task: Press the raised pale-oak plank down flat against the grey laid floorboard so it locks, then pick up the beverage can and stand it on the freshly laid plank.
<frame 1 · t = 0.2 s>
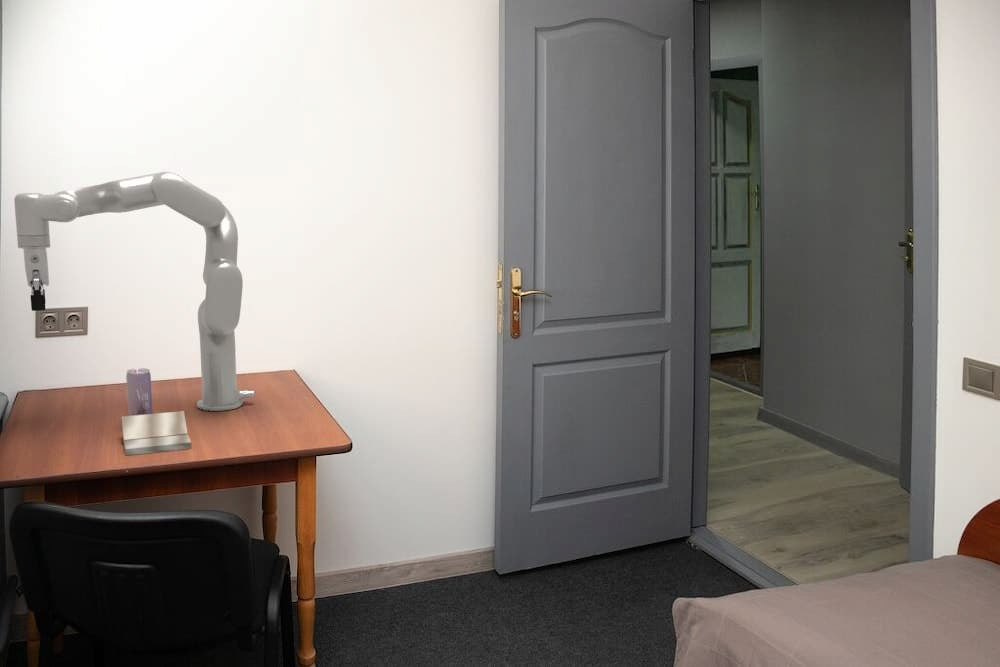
hand: (38, 307, 244), 31 cm above the table, tool pointing down, fingers open, 9 cm apart
beverage can: (141, 426, 248), on the table
floorboard: (157, 447, 230), on the table
plank: (154, 427, 237), point 3 cm above the table, hinge at 30.0°
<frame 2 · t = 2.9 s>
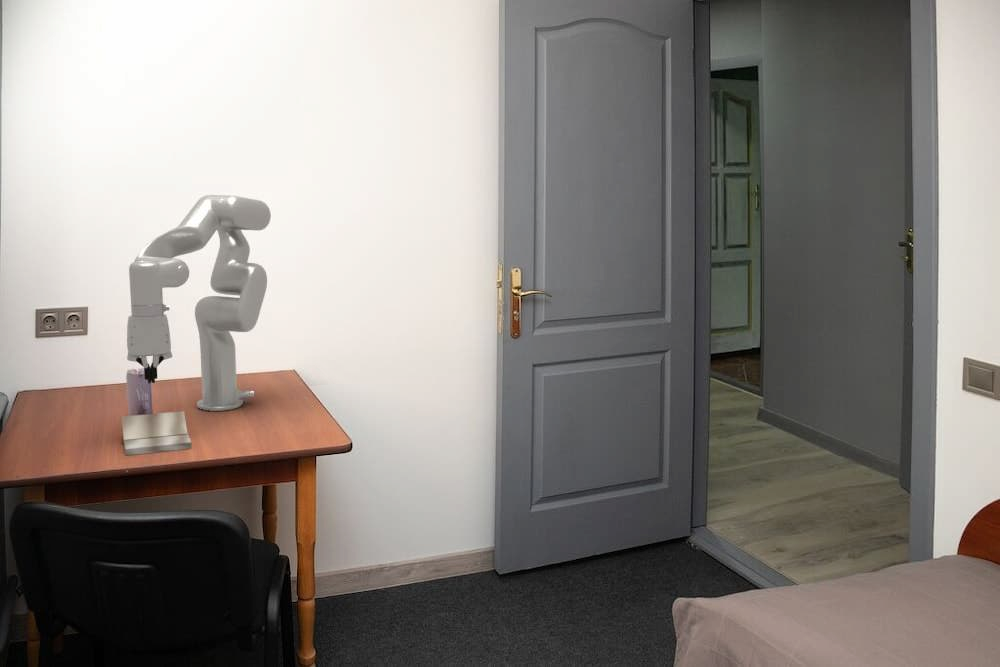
hand: (151, 381, 238), 14 cm above the table, tool pointing down, fingers closed
nothing on the table moved.
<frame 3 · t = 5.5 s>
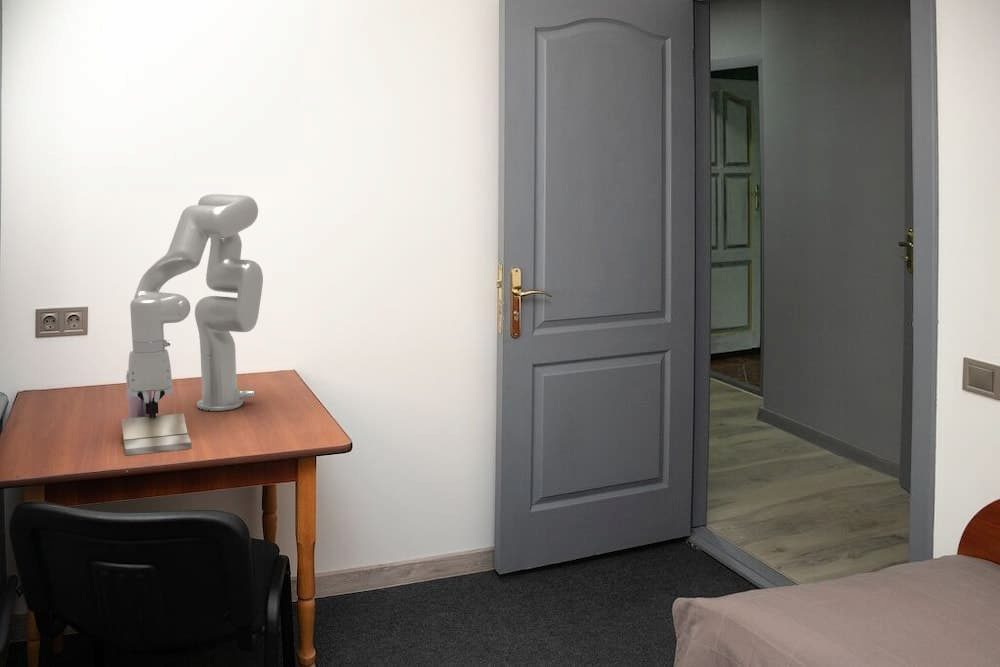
hand: (152, 416, 240), 5 cm above the table, tool pointing down, fingers closed
plank: (154, 428, 238), point 2 cm above the table, hinge at 23.5°, touching gripper
everything else where it was.
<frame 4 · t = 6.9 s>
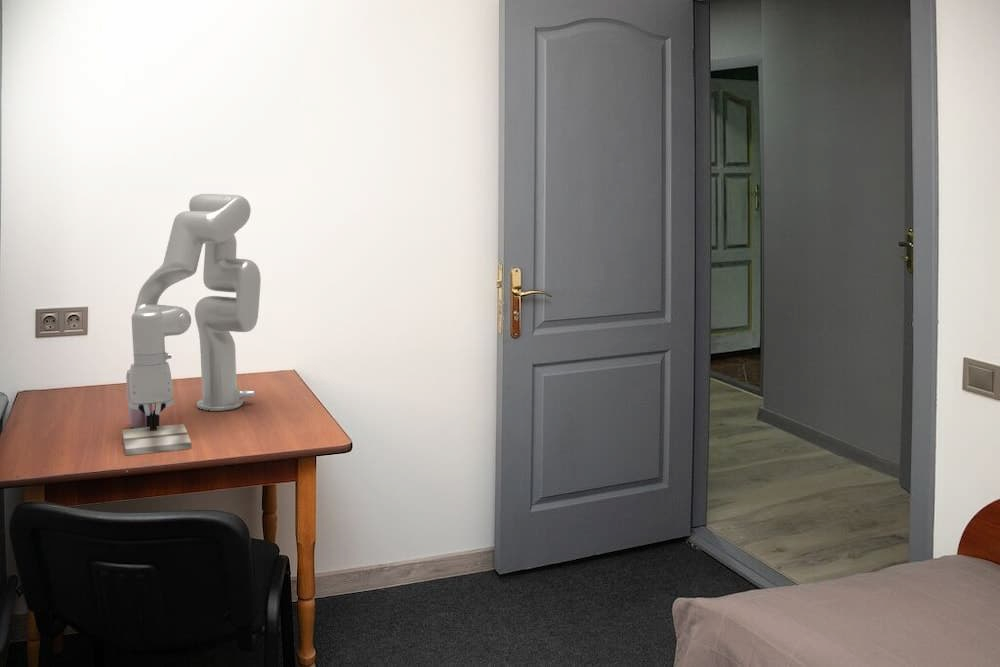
hand: (153, 428, 240), 2 cm above the table, tool pointing down, fingers closed
plank: (154, 433, 239), point 1 cm above the table, hinge at -0.3°, touching gripper
everything else where it was.
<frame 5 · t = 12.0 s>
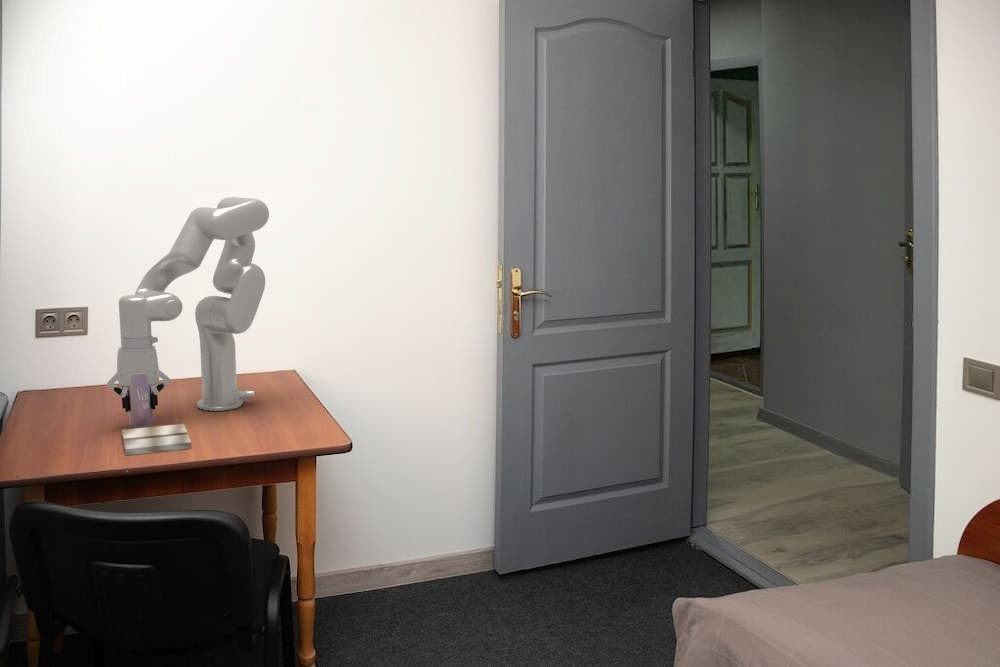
hand: (140, 409, 247), 5 cm above the table, tool pointing down, fingers closed on beverage can, 6 cm apart
beverage can: (141, 426, 248), on the table, touching gripper
plank: (154, 433, 239), point 1 cm above the table, hinge at -0.2°
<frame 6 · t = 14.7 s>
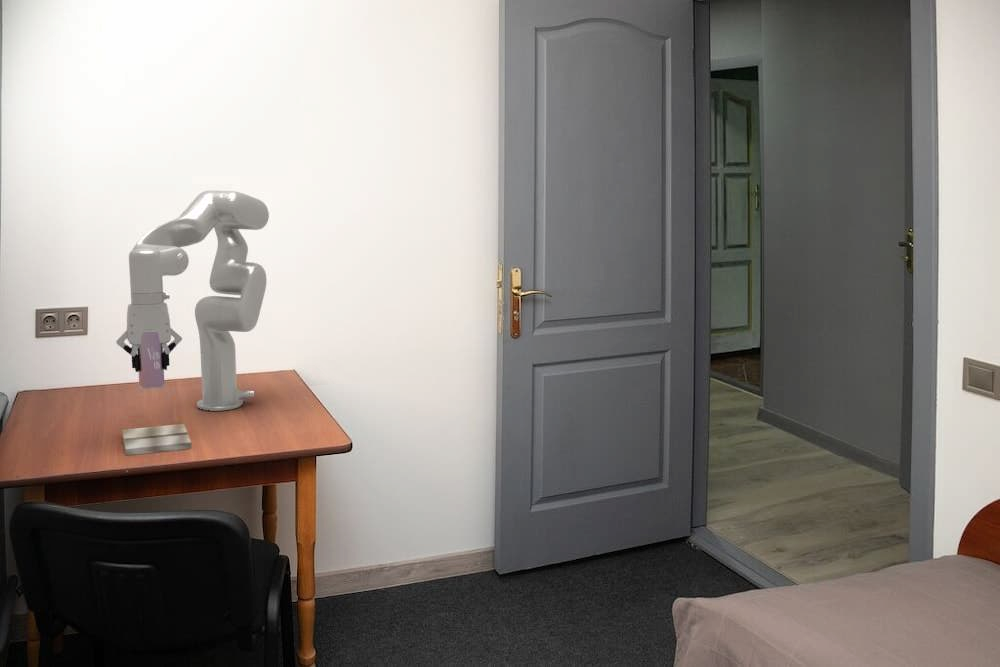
hand: (151, 369, 235), 18 cm above the table, tool pointing down, fingers closed on beverage can, 6 cm apart
beverage can: (152, 387, 236), point 13 cm above the table, touching gripper
everything else where it was.
when the fingers open (7 cm above the table, at t = 17.4 s): beverage can stays where it is, resting on plank.
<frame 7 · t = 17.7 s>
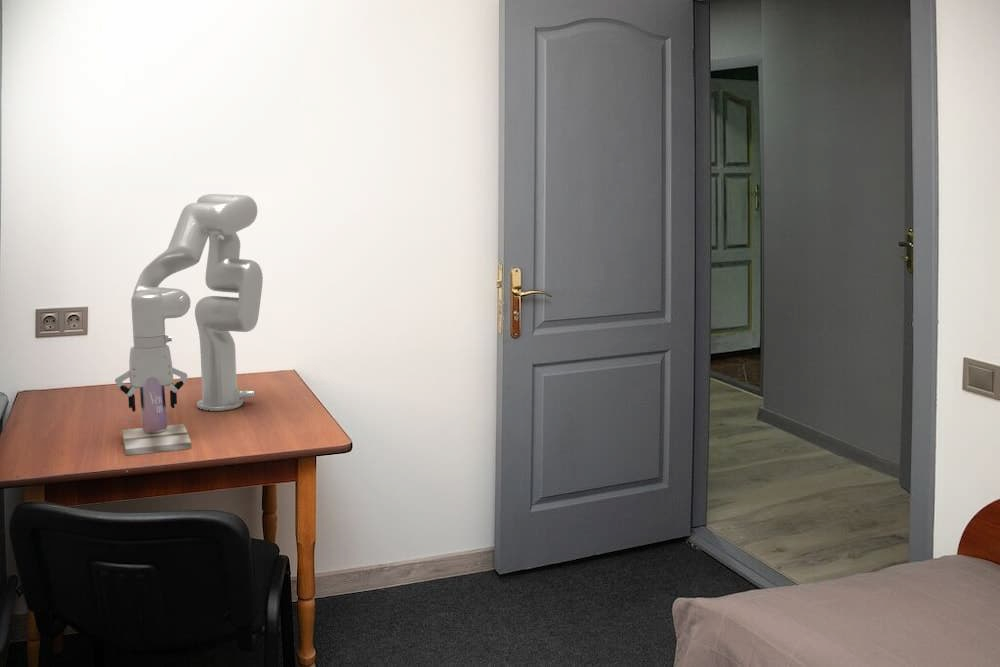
hand: (153, 408, 237), 7 cm above the table, tool pointing down, fingers open, 9 cm apart
beverage can: (155, 431, 239), point 1 cm above the table, touching plank
plank: (154, 433, 239), point 1 cm above the table, hinge at -0.2°, touching beverage can
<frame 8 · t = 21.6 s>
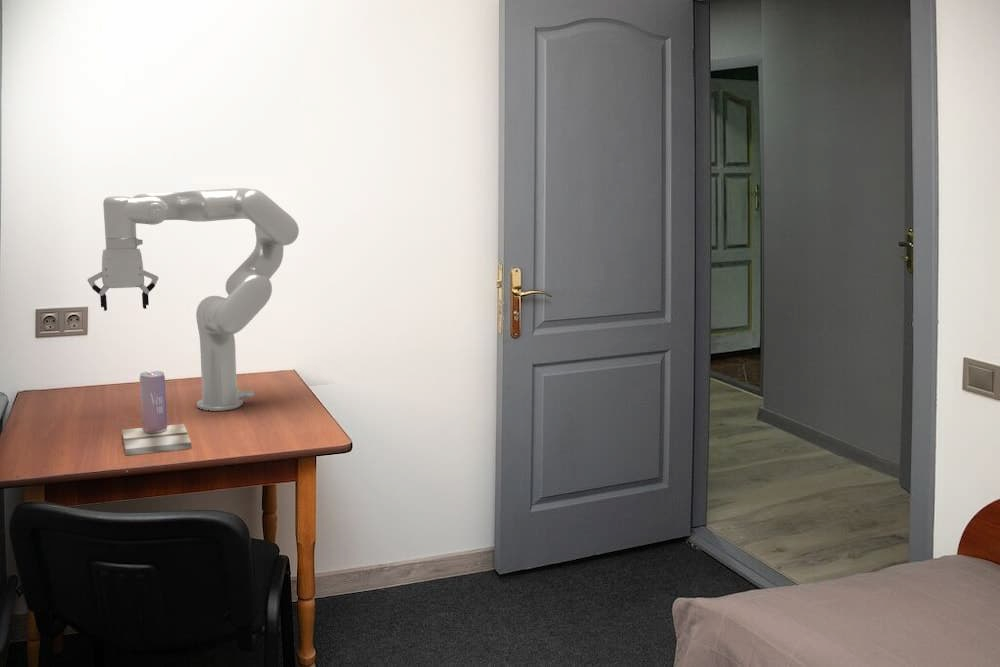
hand: (125, 309, 248), 30 cm above the table, tool pointing down, fingers open, 9 cm apart
nothing on the table moved.
at the end: plank at +0° (first picture: +30°); beverage can inside the target area on the plank (0.2 cm from its centre), point 1.4 cm above the plank's base; beverage can tilted 0° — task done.
